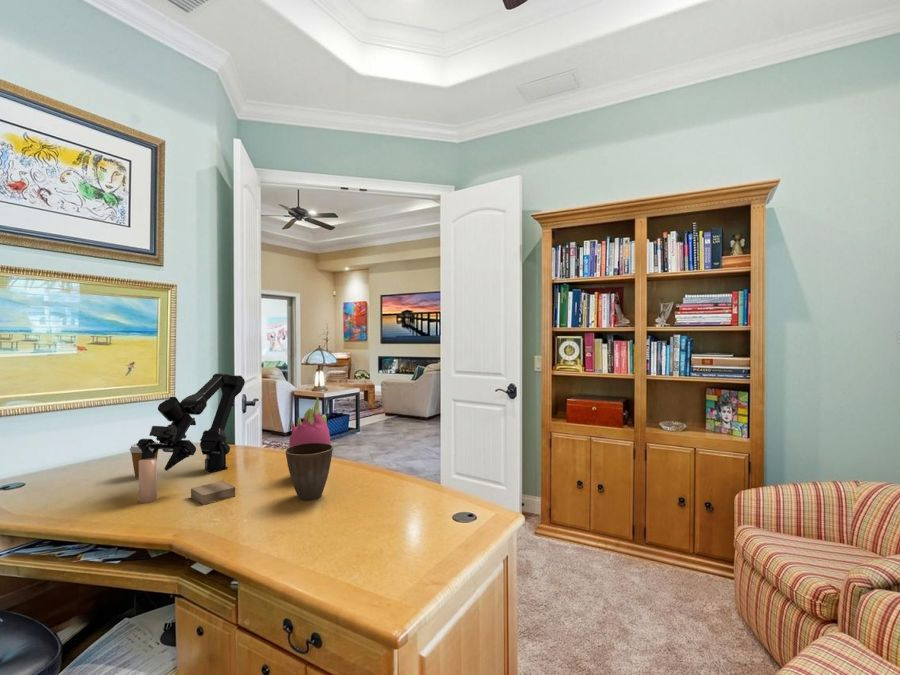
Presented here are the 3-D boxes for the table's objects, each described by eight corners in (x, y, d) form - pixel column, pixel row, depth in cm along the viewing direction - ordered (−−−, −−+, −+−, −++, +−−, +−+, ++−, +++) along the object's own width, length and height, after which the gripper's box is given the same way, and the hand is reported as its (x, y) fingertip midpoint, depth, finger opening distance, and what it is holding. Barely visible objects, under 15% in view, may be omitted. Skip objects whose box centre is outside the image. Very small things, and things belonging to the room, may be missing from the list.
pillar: (154, 496, 149) (153, 457, 149) (158, 499, 145) (158, 459, 145) (137, 500, 145) (136, 460, 145) (141, 504, 142) (141, 463, 142)
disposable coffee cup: (148, 479, 165) (148, 447, 165) (123, 479, 166) (123, 447, 166) (165, 471, 175) (165, 441, 175) (141, 471, 175) (141, 441, 175)
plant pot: (319, 506, 139) (319, 455, 139) (276, 503, 142) (275, 453, 142) (340, 490, 154) (340, 443, 154) (301, 487, 157) (300, 441, 157)
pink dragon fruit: (316, 467, 181) (315, 392, 180) (340, 472, 174) (340, 395, 173) (279, 479, 165) (278, 398, 165) (304, 485, 158) (304, 401, 158)
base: (222, 489, 155) (222, 480, 155) (235, 496, 148) (235, 487, 148) (190, 497, 148) (190, 488, 147) (202, 504, 141) (202, 495, 141)
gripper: (140, 415, 154) (112, 455, 143) (190, 416, 151) (165, 457, 140) (158, 433, 162) (133, 473, 151) (206, 434, 159) (183, 475, 148)
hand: (152, 469), depth 147 cm, fingers open, 9 cm apart
